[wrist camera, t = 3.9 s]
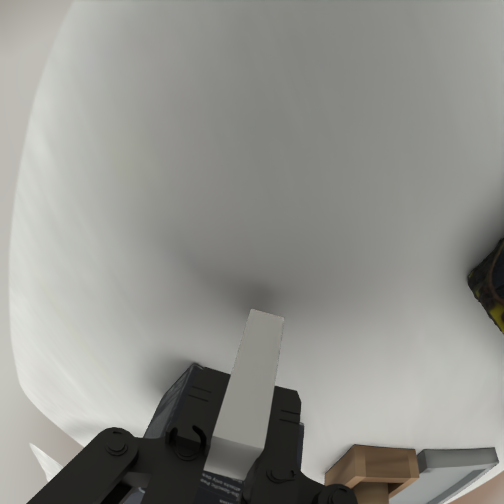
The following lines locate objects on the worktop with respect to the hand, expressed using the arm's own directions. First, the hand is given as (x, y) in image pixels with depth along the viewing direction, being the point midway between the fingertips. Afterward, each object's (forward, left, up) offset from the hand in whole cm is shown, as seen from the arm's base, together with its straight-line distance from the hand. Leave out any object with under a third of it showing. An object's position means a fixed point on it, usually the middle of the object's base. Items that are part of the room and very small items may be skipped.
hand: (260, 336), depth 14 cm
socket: (+14, +13, -3) cm, 19 cm away
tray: (+18, +22, -2) cm, 28 cm away
